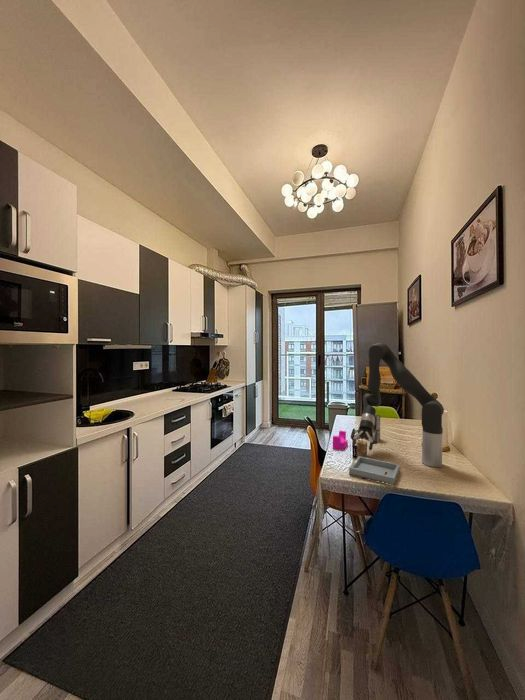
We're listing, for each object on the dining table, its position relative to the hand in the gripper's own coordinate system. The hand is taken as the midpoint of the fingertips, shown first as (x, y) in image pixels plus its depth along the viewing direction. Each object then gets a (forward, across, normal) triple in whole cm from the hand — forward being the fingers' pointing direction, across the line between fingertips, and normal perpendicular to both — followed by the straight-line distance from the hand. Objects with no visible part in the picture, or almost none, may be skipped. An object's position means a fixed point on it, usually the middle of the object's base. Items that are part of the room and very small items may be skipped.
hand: (361, 447), depth 161 cm
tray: (+15, +10, -7) cm, 20 cm away
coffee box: (-23, -3, +32) cm, 40 cm away
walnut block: (+4, 0, +4) cm, 6 cm away
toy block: (-5, -16, +14) cm, 22 cm away
